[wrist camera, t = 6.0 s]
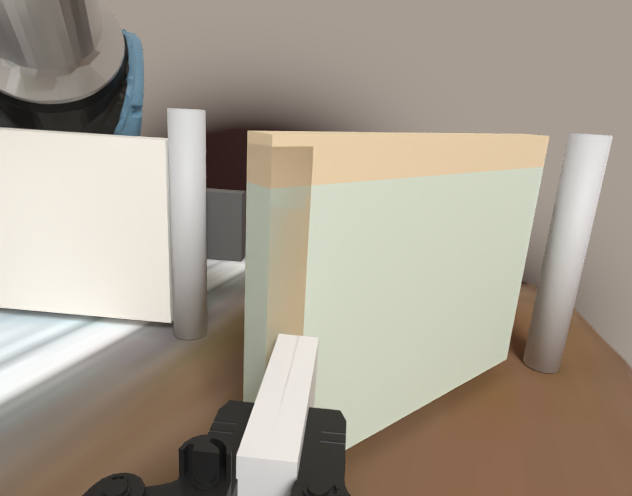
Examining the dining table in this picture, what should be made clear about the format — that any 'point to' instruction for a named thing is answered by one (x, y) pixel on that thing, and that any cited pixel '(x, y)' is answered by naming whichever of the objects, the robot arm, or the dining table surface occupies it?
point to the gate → (386, 260)
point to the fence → (200, 228)
